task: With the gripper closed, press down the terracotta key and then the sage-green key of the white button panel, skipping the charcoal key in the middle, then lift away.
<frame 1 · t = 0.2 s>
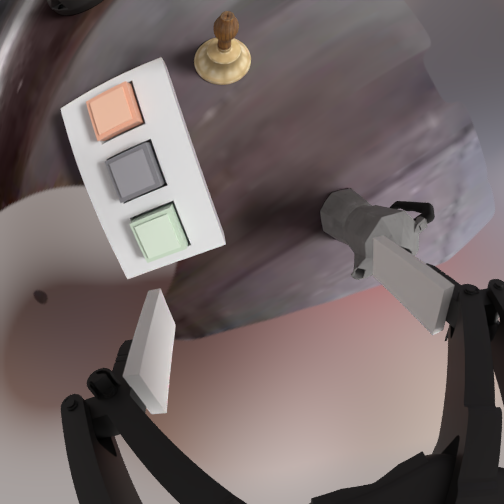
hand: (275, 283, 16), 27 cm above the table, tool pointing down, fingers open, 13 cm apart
coffeepot: (347, 210, 45), on the table
charcoal key: (134, 172, 32), point 5 cm above the table, slide at 0.0 cm
sage key: (159, 233, 36), point 5 cm above the table, slide at 0.0 cm
hand bell: (222, 60, 33), on the table
terracotta key: (114, 111, 29), point 5 cm above the table, slide at 0.0 cm
white button panel: (144, 168, 37), on the table
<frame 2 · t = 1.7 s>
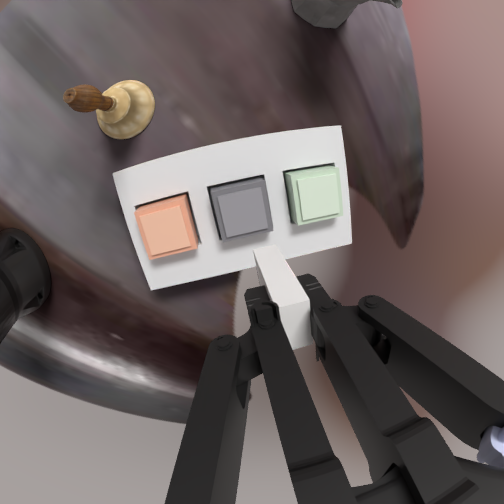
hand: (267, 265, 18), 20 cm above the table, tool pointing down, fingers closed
coffeepot: (315, 1, 26), on the table
charcoal key: (241, 209, 32), point 5 cm above the table, slide at 0.0 cm
sage key: (314, 194, 32), point 5 cm above the table, slide at 0.0 cm
hand bell: (125, 109, 29), on the table
terracotta key: (167, 227, 31), point 5 cm above the table, slide at 0.0 cm
white button panel: (237, 199, 36), on the table
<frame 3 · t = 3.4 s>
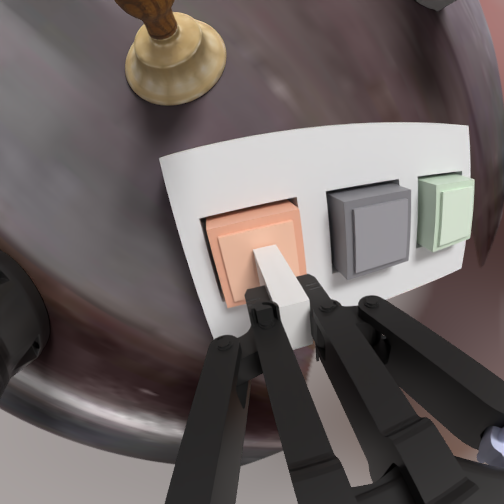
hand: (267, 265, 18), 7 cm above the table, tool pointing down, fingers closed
charcoal key: (371, 228, 20), point 5 cm above the table, slide at 0.0 cm
sage key: (446, 210, 20), point 5 cm above the table, slide at 0.0 cm
hand bell: (175, 60, 17), on the table
terracotta key: (258, 253, 19), point 5 cm above the table, slide at 0.5 cm, touching gripper
white button panel: (342, 210, 24), on the table
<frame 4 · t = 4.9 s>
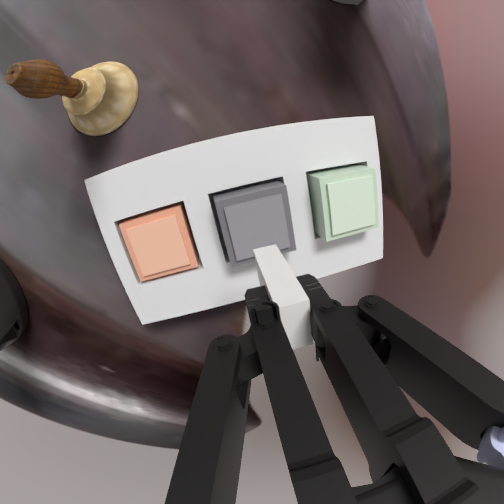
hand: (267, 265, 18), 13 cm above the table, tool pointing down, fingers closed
charcoal key: (255, 222, 24), point 5 cm above the table, slide at 0.0 cm
sage key: (345, 201, 25), point 5 cm above the table, slide at 0.0 cm
hand bell: (102, 98, 22), on the table
terracotta key: (160, 240, 25), point 3 cm above the table, slide at 1.9 cm
white button panel: (245, 208, 29), on the table
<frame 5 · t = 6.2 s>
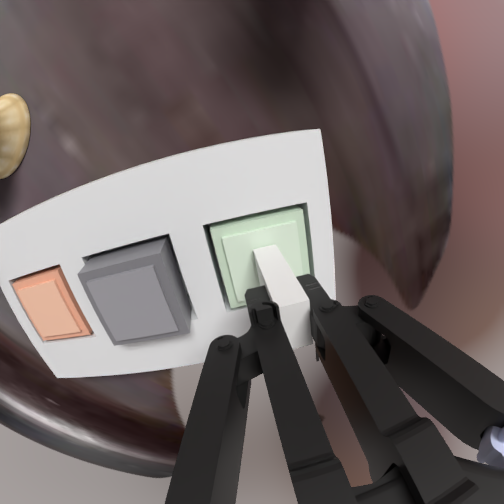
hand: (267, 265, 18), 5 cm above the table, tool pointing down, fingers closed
charcoal key: (136, 294, 17), point 5 cm above the table, slide at 0.0 cm
sage key: (261, 254, 20), point 3 cm above the table, slide at 1.8 cm, touching gripper
hand bell: (3, 136, 15), on the table
terracotta key: (54, 301, 19), point 3 cm above the table, slide at 1.9 cm
white button panel: (150, 262, 22), on the table
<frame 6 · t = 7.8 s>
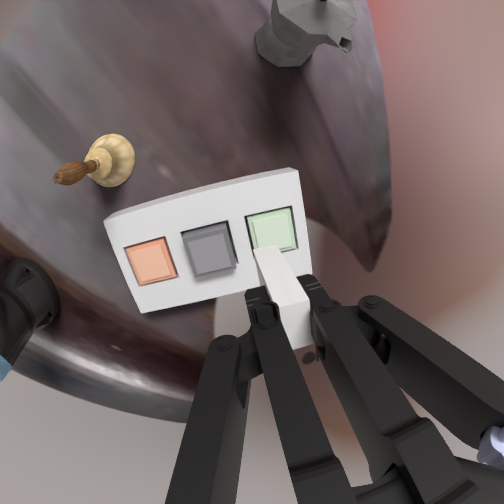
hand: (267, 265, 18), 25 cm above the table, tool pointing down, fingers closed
coffeepot: (280, 38, 31), on the table
charcoal key: (209, 250, 38), point 5 cm above the table, slide at 0.0 cm
sage key: (270, 230, 40), point 3 cm above the table, slide at 1.9 cm
hand bell: (111, 160, 36), on the table
terracotta key: (152, 259, 39), point 3 cm above the table, slide at 1.9 cm
white button panel: (210, 237, 42), on the table
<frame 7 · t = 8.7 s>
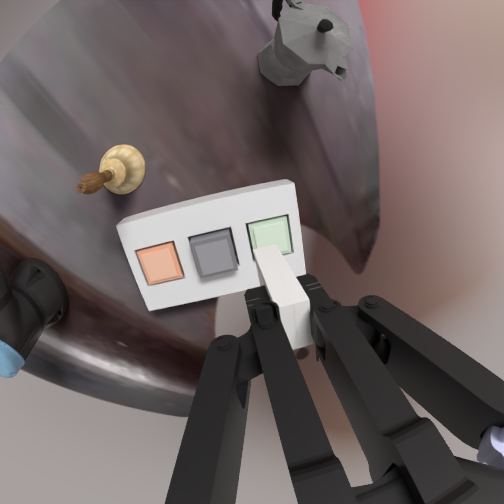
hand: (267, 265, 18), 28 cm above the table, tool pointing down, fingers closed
coffeepot: (280, 57, 36), on the table
charcoal key: (214, 253, 42), point 5 cm above the table, slide at 0.0 cm
sage key: (269, 236, 44), point 3 cm above the table, slide at 1.9 cm
hand bell: (122, 169, 40), on the table
terracotta key: (161, 261, 43), point 3 cm above the table, slide at 1.9 cm
white button panel: (213, 241, 47), on the table
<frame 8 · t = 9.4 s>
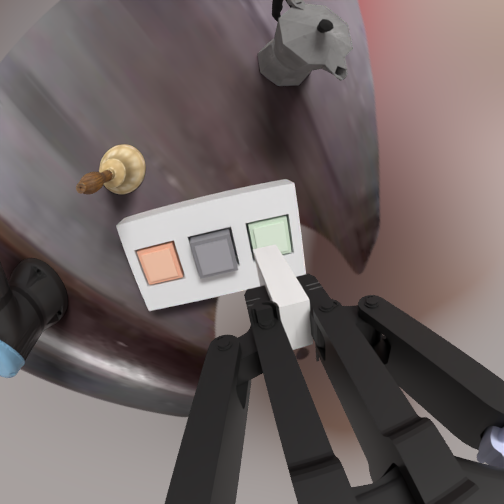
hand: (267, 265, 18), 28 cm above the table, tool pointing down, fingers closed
coffeepot: (280, 57, 36), on the table
charcoal key: (214, 253, 42), point 5 cm above the table, slide at 0.0 cm
sage key: (269, 236, 44), point 3 cm above the table, slide at 1.9 cm
hand bell: (122, 169, 40), on the table
terracotta key: (161, 261, 43), point 3 cm above the table, slide at 1.9 cm
white button panel: (213, 241, 47), on the table
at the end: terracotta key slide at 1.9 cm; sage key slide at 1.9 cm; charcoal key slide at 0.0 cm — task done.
